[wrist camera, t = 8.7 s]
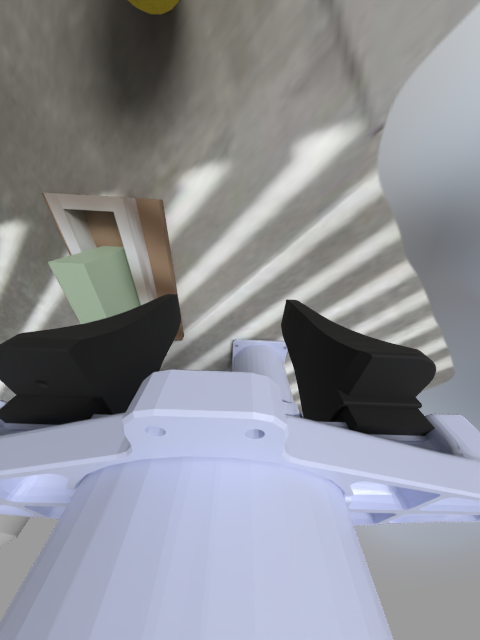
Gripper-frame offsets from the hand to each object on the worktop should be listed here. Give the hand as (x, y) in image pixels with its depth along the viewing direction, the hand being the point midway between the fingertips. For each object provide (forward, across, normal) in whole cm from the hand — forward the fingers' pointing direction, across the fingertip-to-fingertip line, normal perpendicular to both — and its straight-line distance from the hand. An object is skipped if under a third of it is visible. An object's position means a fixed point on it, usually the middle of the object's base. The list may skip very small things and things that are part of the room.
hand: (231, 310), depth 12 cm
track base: (+9, +12, +2) cm, 15 cm away
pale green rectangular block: (+8, +12, +2) cm, 15 cm away
